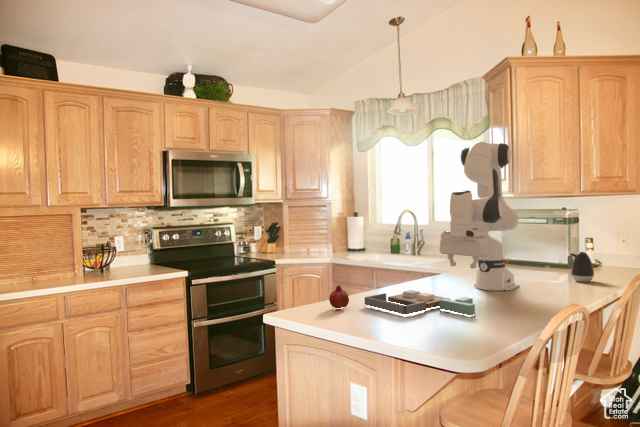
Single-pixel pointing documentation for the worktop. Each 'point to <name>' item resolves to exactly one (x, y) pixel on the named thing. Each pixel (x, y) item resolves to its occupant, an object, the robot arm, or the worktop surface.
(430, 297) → the tile cream
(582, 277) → the pump dispenser
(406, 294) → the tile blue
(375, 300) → the tray
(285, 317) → the worktop surface
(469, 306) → the scraper
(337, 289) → the fruit
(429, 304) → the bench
